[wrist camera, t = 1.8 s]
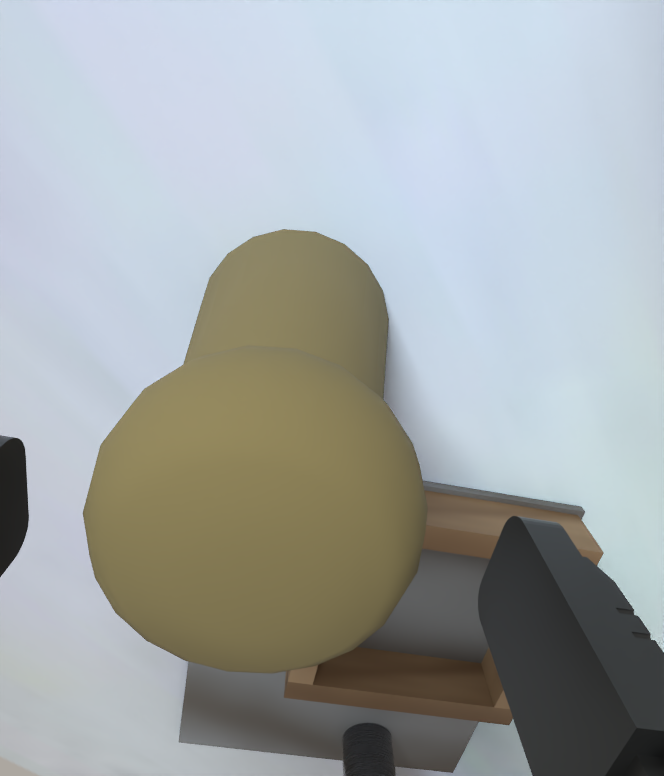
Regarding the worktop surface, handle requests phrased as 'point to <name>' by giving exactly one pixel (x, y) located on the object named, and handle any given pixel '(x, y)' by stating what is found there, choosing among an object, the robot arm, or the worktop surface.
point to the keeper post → (368, 751)
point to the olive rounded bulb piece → (264, 471)
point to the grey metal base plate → (390, 655)
